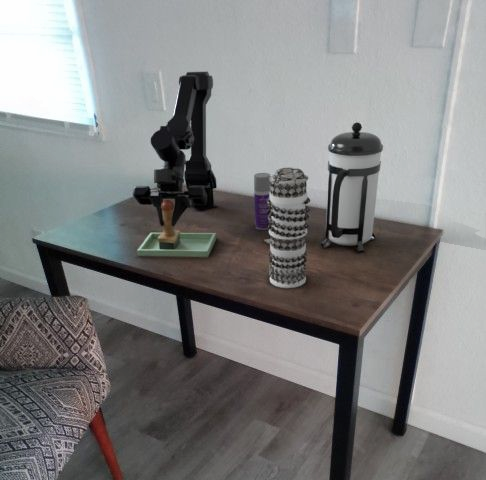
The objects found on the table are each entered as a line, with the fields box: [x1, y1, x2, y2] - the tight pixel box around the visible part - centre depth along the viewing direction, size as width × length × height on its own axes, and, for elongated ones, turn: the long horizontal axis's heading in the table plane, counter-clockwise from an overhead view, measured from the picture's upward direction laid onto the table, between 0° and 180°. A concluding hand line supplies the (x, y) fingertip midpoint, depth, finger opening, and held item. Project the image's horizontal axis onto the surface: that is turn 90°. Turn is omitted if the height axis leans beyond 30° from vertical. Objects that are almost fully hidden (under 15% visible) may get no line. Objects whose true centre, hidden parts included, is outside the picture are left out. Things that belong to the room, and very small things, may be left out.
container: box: [253, 172, 271, 231], centre depth 138 cm, size 5×5×15 cm
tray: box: [136, 232, 217, 258], centre depth 131 cm, size 19×12×2 cm, turn 82°
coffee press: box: [320, 121, 384, 254], centre depth 120 cm, size 17×16×30 cm
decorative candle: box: [266, 167, 311, 289], centre depth 107 cm, size 9×9×25 cm
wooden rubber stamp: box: [158, 199, 182, 250], centre depth 128 cm, size 4×6×13 cm
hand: (167, 225), depth 127 cm, fingers closed on wooden rubber stamp, 3 cm apart
